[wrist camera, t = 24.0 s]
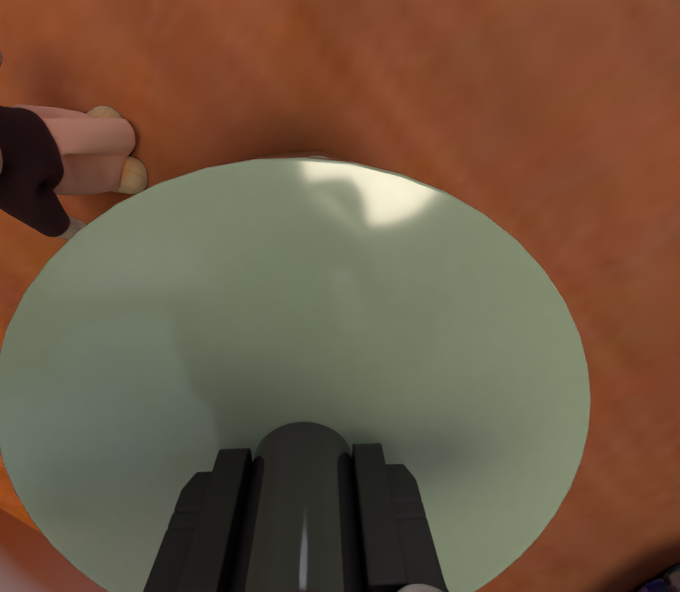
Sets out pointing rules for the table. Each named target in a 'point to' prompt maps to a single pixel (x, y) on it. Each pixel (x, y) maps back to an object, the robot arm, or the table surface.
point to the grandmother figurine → (63, 162)
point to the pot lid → (292, 373)
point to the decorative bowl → (665, 582)
